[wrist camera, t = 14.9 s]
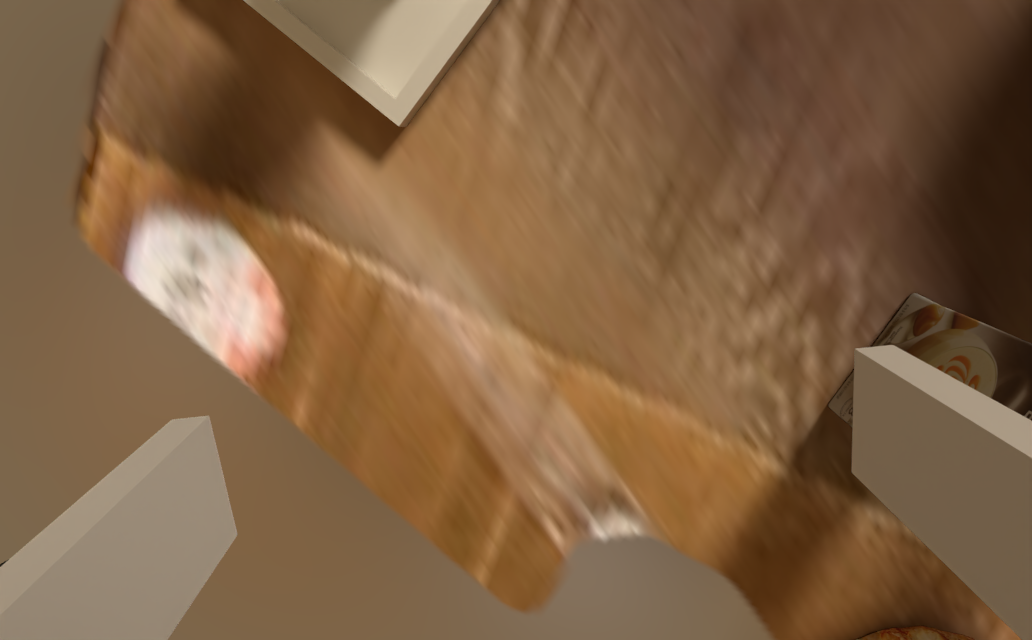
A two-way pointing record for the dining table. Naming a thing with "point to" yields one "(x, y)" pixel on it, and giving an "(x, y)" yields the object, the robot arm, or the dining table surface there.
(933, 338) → the coffee box
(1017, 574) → the robot arm
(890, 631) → the croissant
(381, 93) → the dish
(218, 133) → the dining table surface
